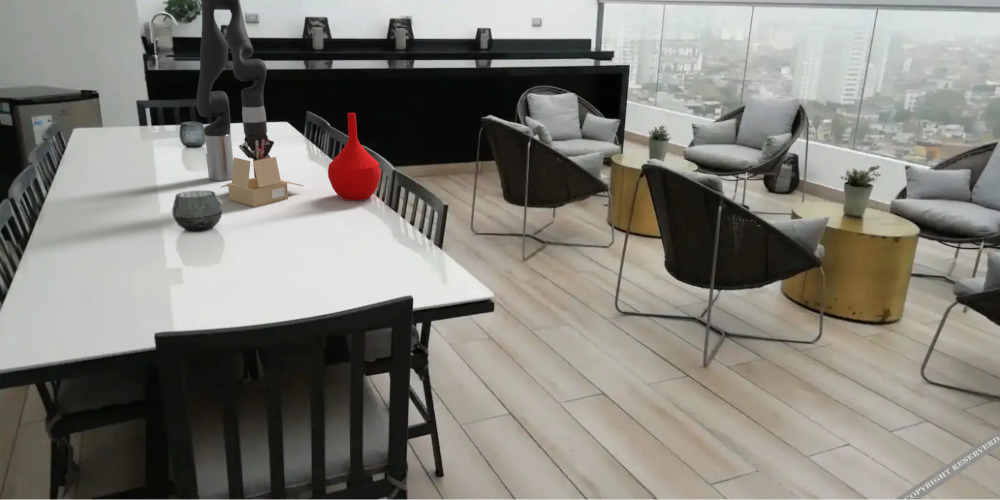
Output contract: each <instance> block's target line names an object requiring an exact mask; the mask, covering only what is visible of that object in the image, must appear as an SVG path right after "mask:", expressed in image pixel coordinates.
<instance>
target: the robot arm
mask: <svg viewBox="0 0 1000 500" xmlns="http://www.w3.org/2000/svg"><path fill="white" fill-rule="evenodd" d="M215 10H217V11H219V10H221V11H229V12H230V15H231V17H230V20H229V23H228V26H227V28H226V32H225V34H226V35H224V34H223V32H222V31H221V29H220V28H219V25H218V24H217V22H216V18H215ZM225 36H226V37H225ZM229 49H230V52H231V56H232V73H233V76H234V78H235V79H236V80H238V81H240V82H250V81H253V84H252V85H251V86H249V87H245V88H243V89H242V90H241V92H240V97H241V106H242V107H241V108H242V111H241V114H242V116H241V117H242V124H243V125H242V126H243V134H244V135H245V136H244V139H243V140H244V142H243V143H242V144H240V145H239V150H241V151H242V152H243V154H244V155H245V156H246V157H247V158H248V159H252V161H253V160H254V161H256V160H261V159H263V158H264V157H265V156H268V155H270V152H271V150H272V148H273V146H274V144H275V141H274V140H271V139H269V136H268V135H267V133H268V125H267V115H266V109H265V100H264V89H265V83H266V78H267V65H266V63H265V62H264V61H263V60H262V59H261V58H251V57H252V56H253V54H254V47H253V44H252V42H251V39H250V37H249V34H248V32H247V28H246V25H245V21H244V15H243V11H242V7H241V1H240V0H201V37H200V51H199V52H200V54H199V57H200V58H199V60H200V61H199V78H198V84H197V85H198V86H197V92H196V110H197V113H198V114H199V115H200V116H201V117H204V118H211V117H216V119H215V120H214V121H213V122H212V123H210V124H207V125H206V126H204V129H203V130H204V131H203V132H204V139H205V149H206V154H205V157H206V158H205V159H206V164H207V165H206V166H207V173H208V175H207V176H208V178H209V180H211V181H217V182H218V181H220V182H221V181H222V182H223V181H231V180H232V172H233V160H234V157H233V156H234V155H233V153H234V152H233V145H232V135H231V116H230V113H231V112H230V101H229V97H228V95H227V93H226V92H225V91H223V90H214V91H212V88H213V85H214V83H215V81H216V80H217V79H218V77H219V76H220V75H221V74H222V72H223V71H224V70H225V68H226V67H227V64H228V61H229Z"/></svg>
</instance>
